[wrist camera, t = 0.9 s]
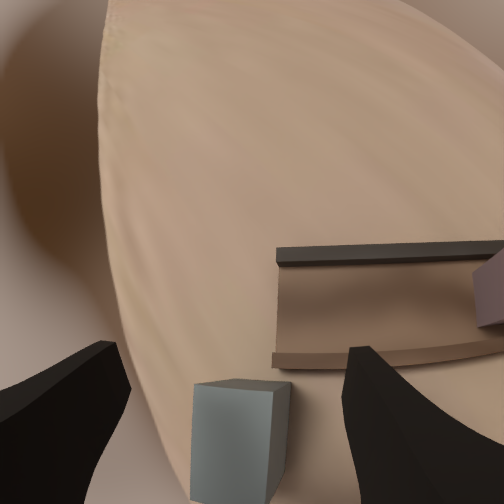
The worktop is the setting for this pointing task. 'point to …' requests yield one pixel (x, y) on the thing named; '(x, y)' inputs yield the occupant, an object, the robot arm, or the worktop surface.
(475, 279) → the box
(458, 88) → the worktop surface
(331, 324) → the shelf ledge
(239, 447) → the box
